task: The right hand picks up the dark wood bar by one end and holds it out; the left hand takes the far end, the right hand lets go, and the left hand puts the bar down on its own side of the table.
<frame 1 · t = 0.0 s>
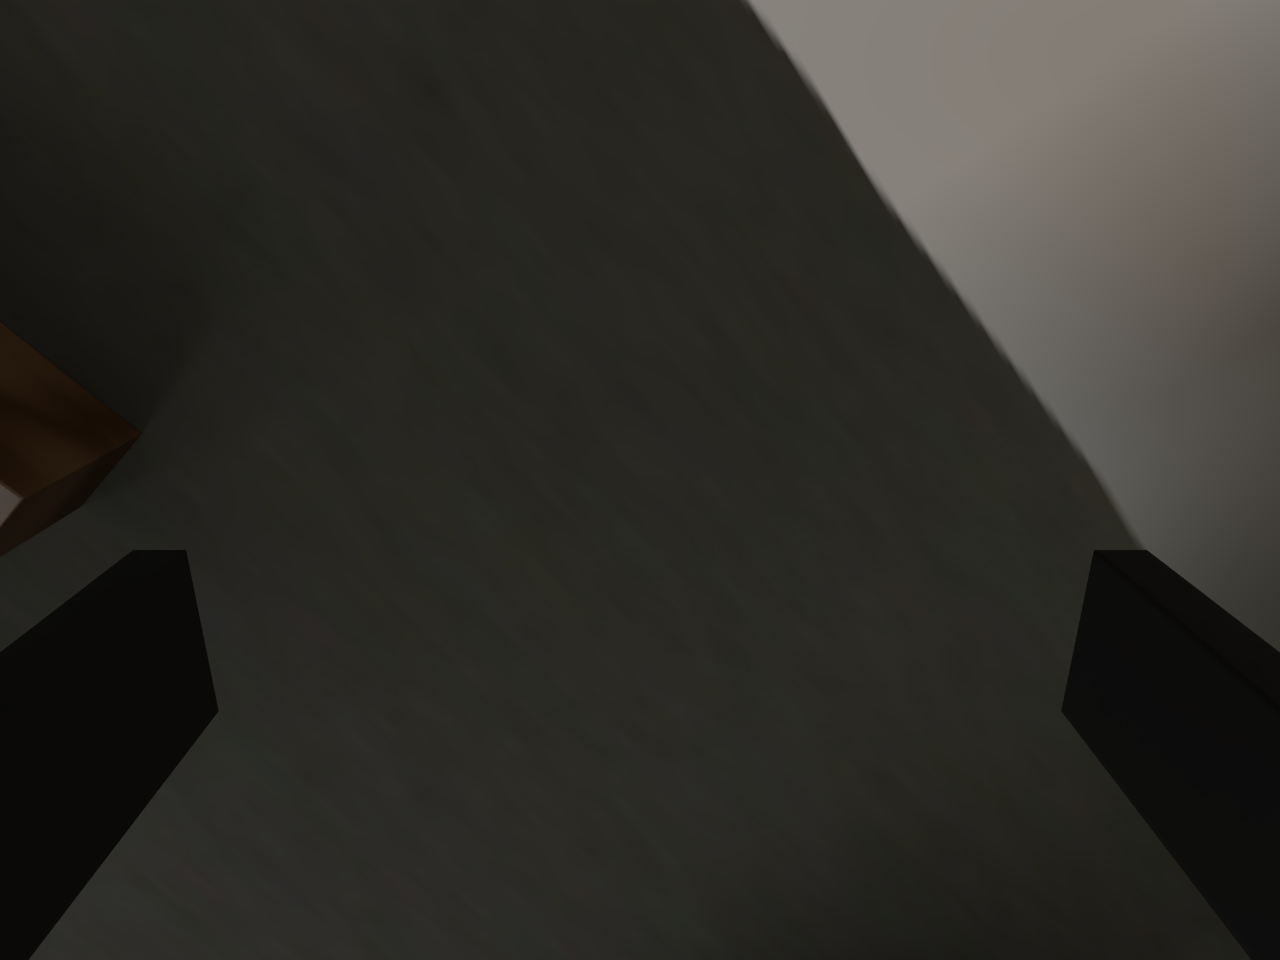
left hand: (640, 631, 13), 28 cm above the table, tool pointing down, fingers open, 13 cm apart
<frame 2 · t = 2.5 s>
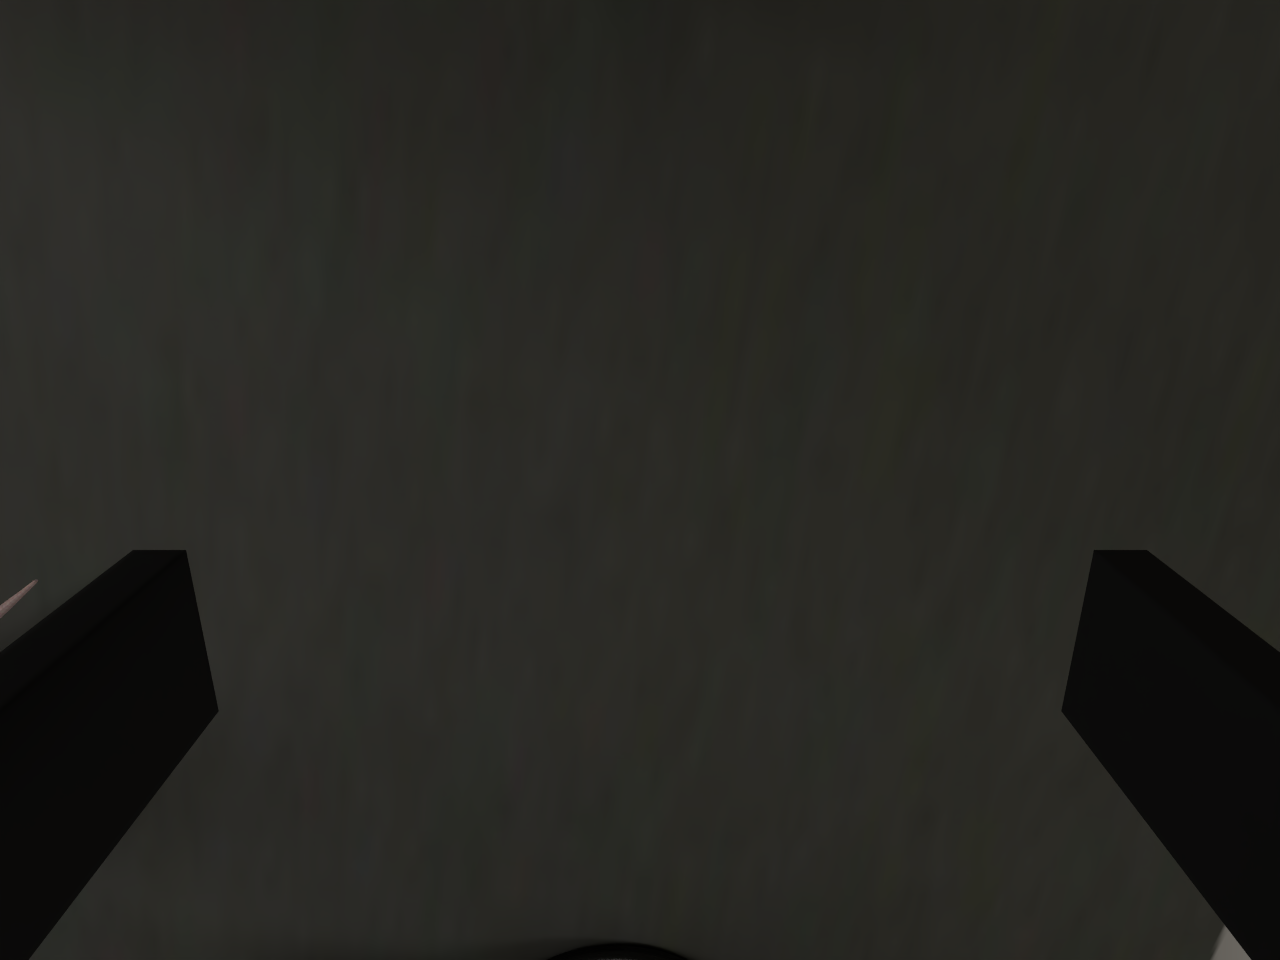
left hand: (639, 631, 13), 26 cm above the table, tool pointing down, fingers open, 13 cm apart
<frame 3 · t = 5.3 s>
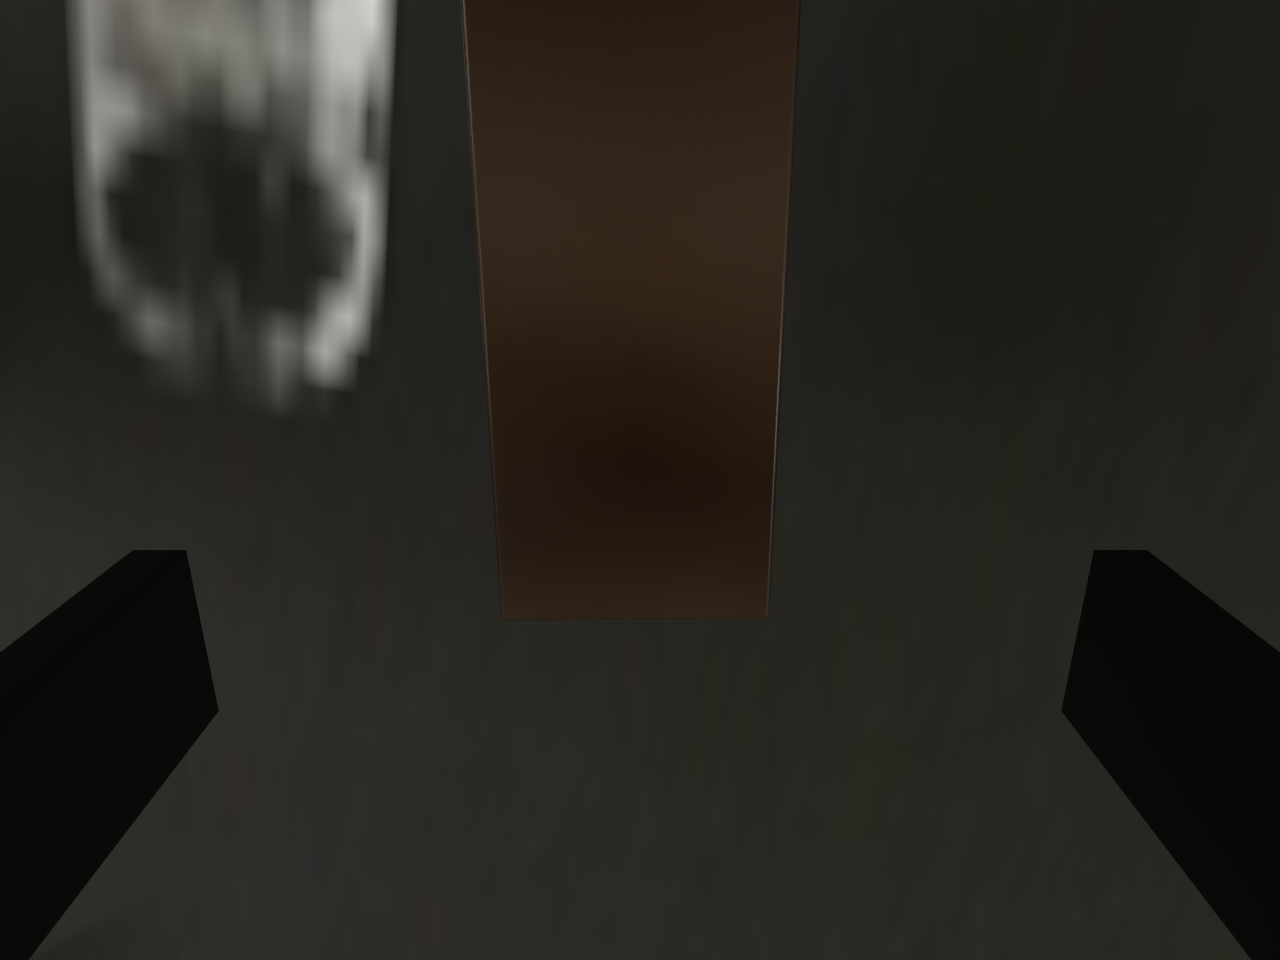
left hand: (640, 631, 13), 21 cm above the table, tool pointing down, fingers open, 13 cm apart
bar: (632, 28, 21), point 9 cm above the table, touching right hand
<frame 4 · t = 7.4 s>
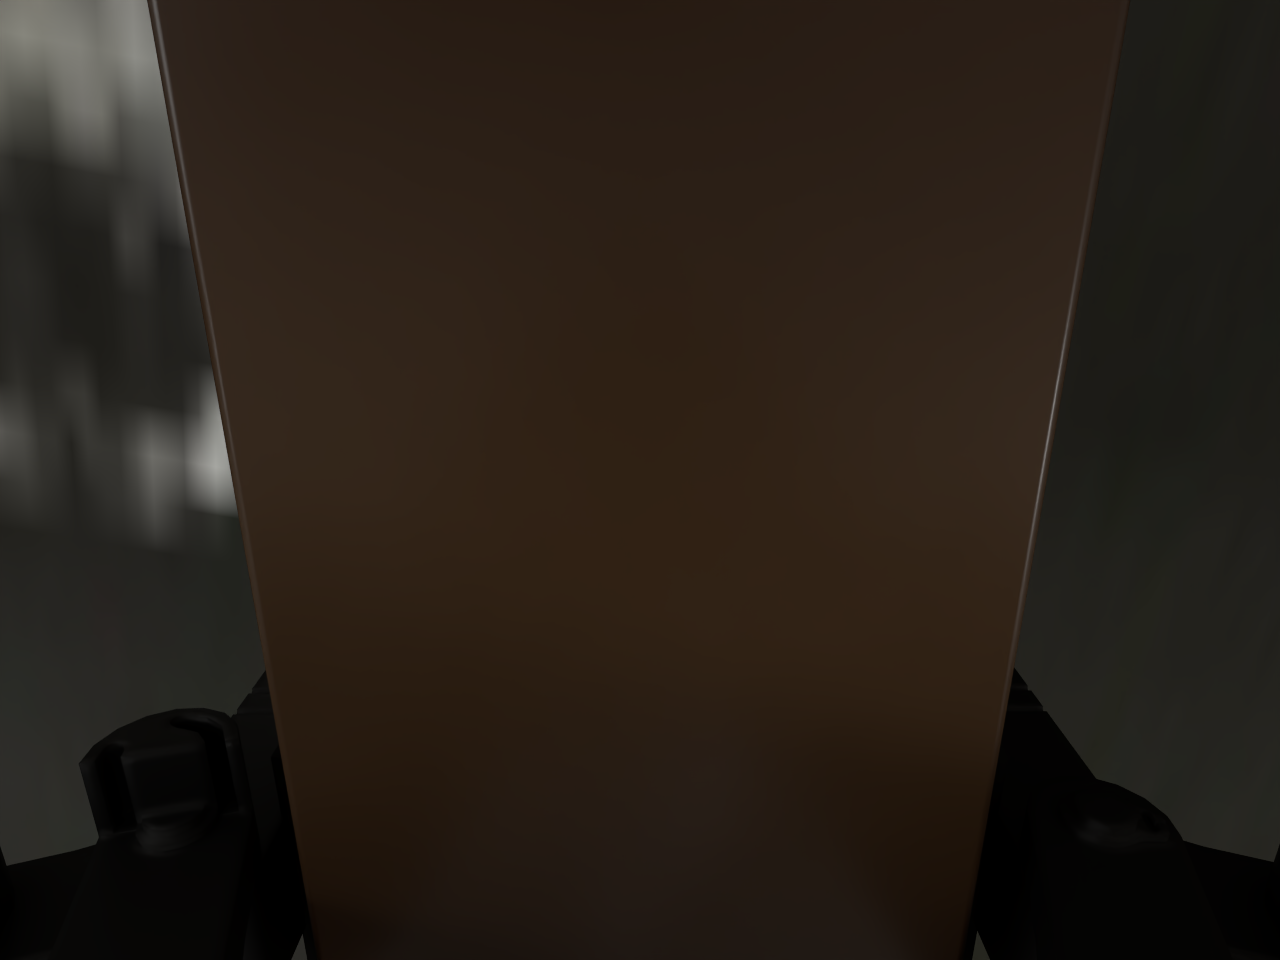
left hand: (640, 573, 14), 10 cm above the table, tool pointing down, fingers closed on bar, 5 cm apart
bar: (638, 34, 12), point 9 cm above the table, touching left hand, right hand
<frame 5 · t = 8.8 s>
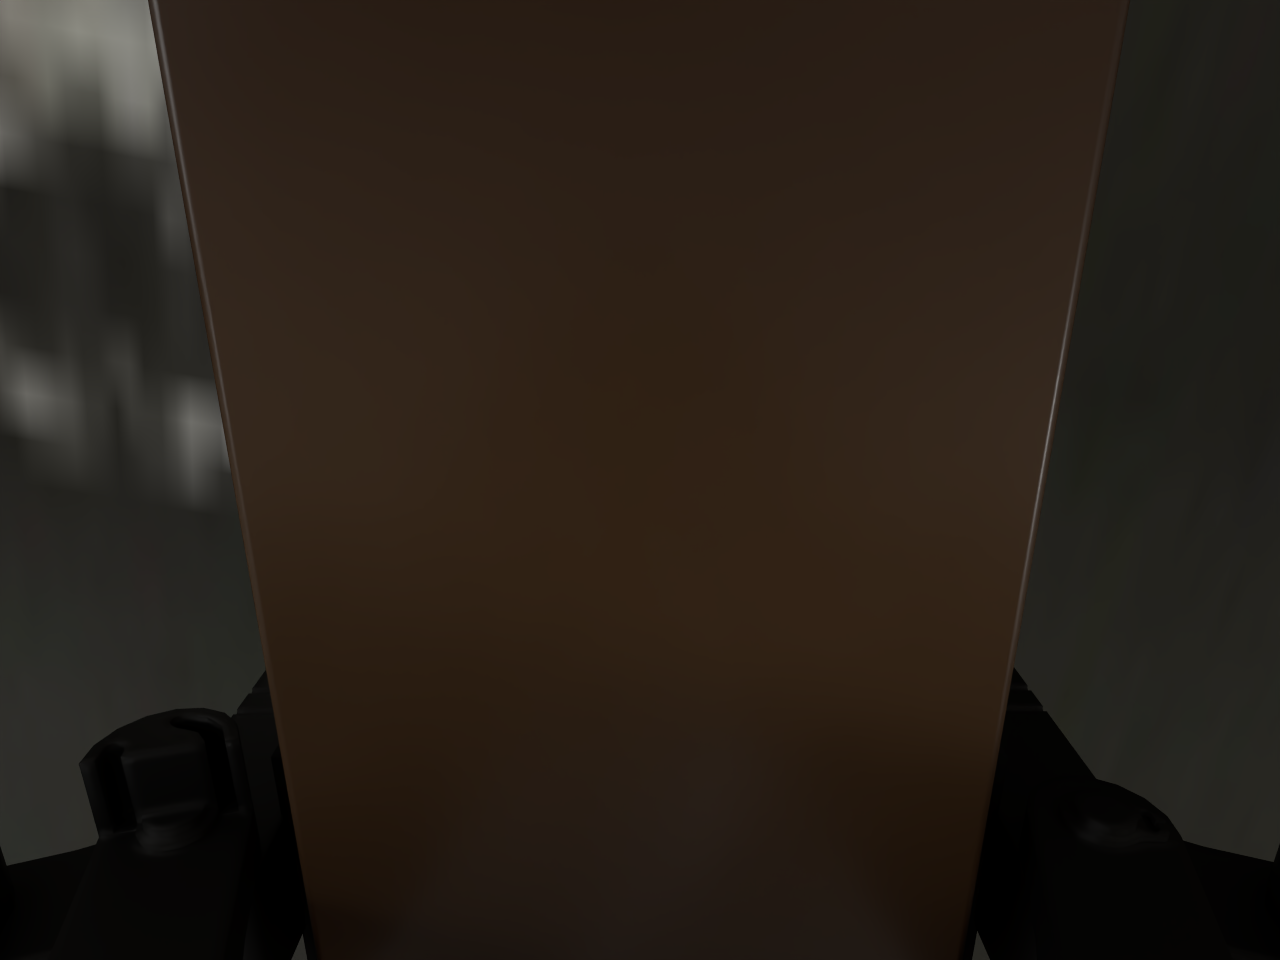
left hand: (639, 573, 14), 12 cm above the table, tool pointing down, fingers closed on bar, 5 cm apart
bar: (638, 34, 12), point 11 cm above the table, touching left hand
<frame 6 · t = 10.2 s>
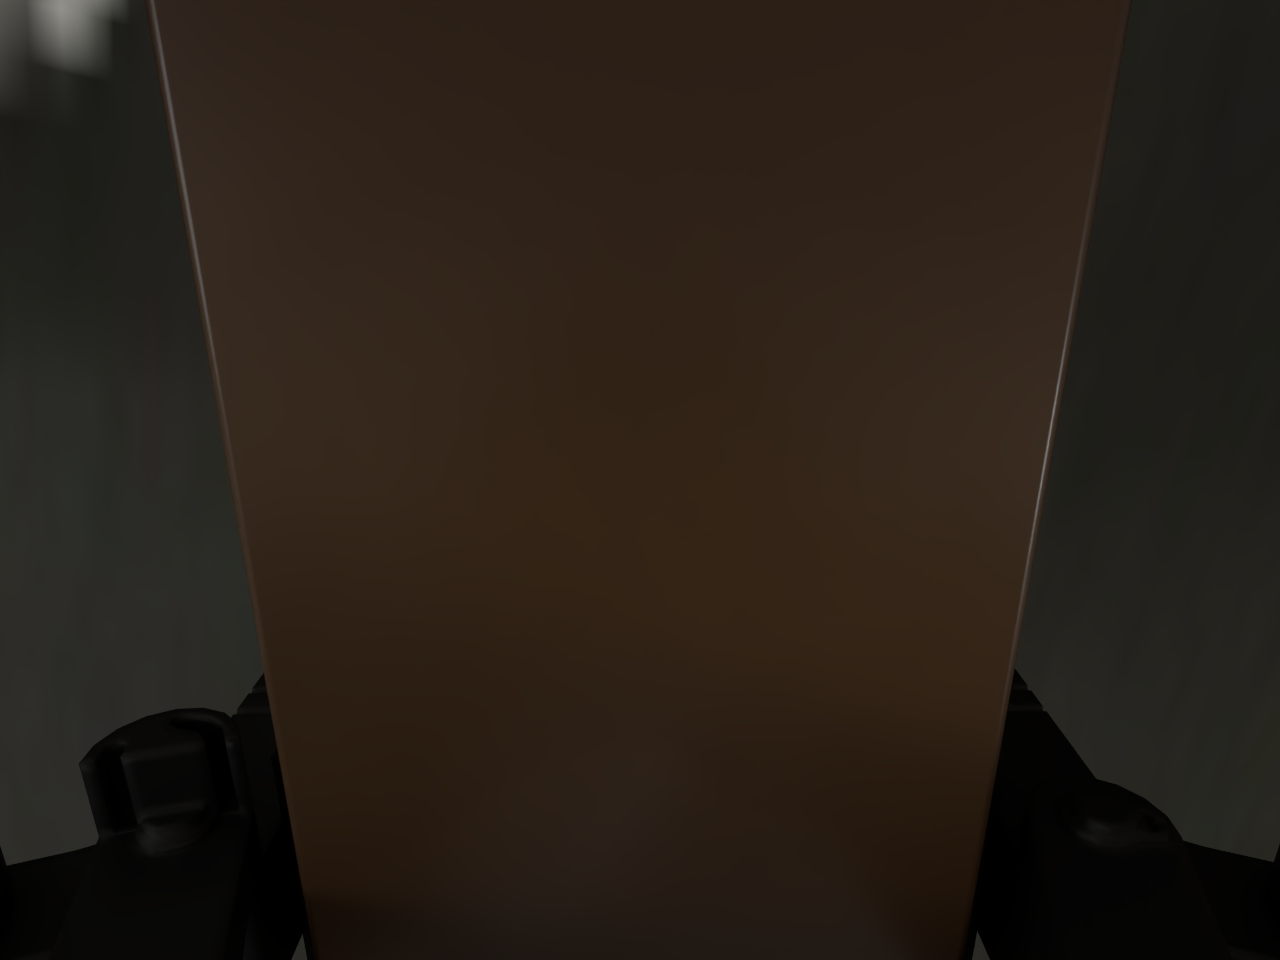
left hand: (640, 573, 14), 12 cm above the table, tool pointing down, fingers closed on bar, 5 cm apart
bar: (638, 32, 12), point 11 cm above the table, touching left hand
when the left hand's fingers open (1 cm above the table, at t = 13.3 s): bar stays where it is, on the table.
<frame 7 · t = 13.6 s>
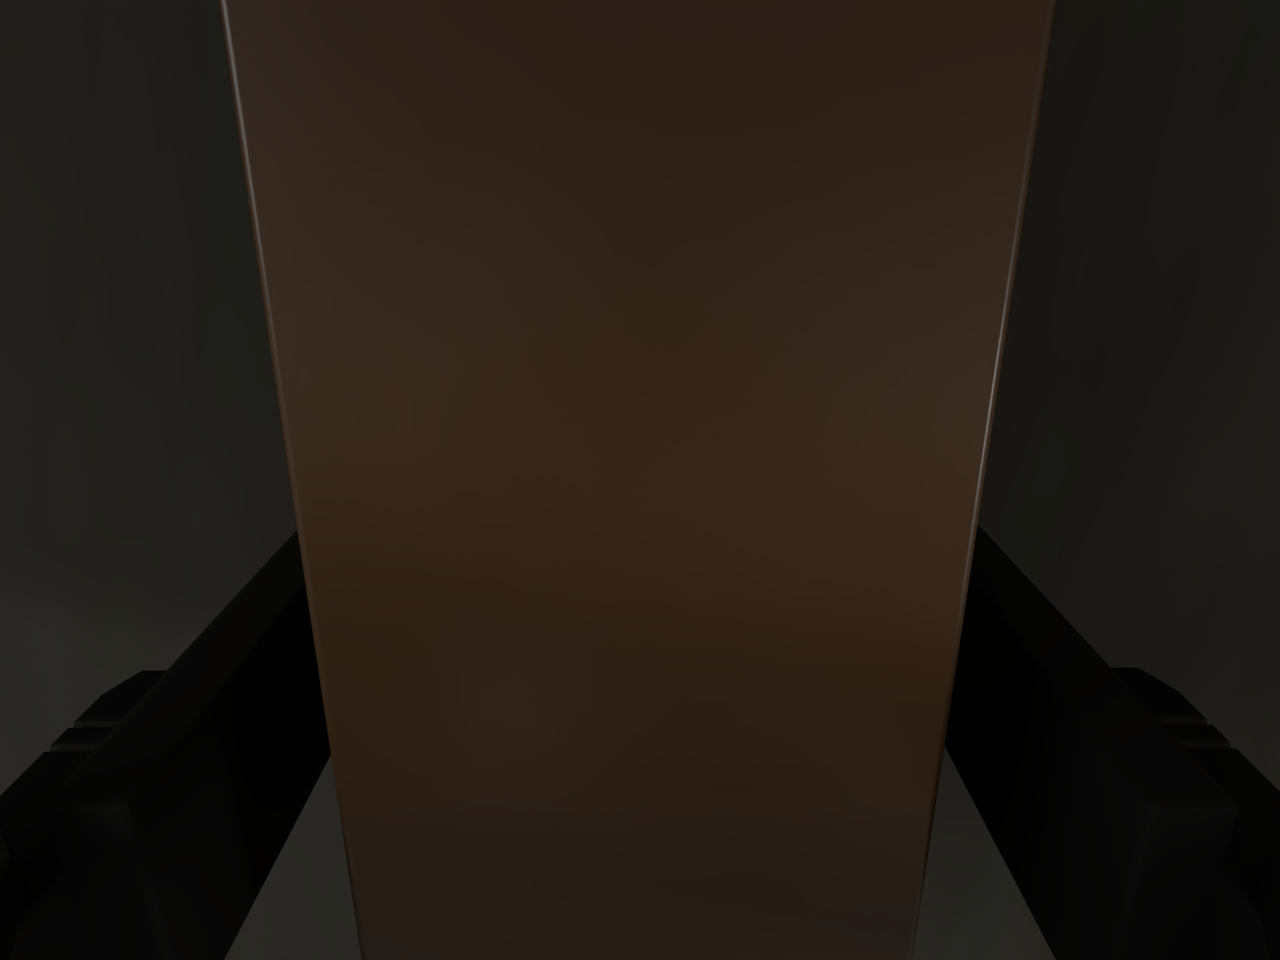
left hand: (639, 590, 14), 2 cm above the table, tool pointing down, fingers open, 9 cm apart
bar: (638, 50, 13), on the table
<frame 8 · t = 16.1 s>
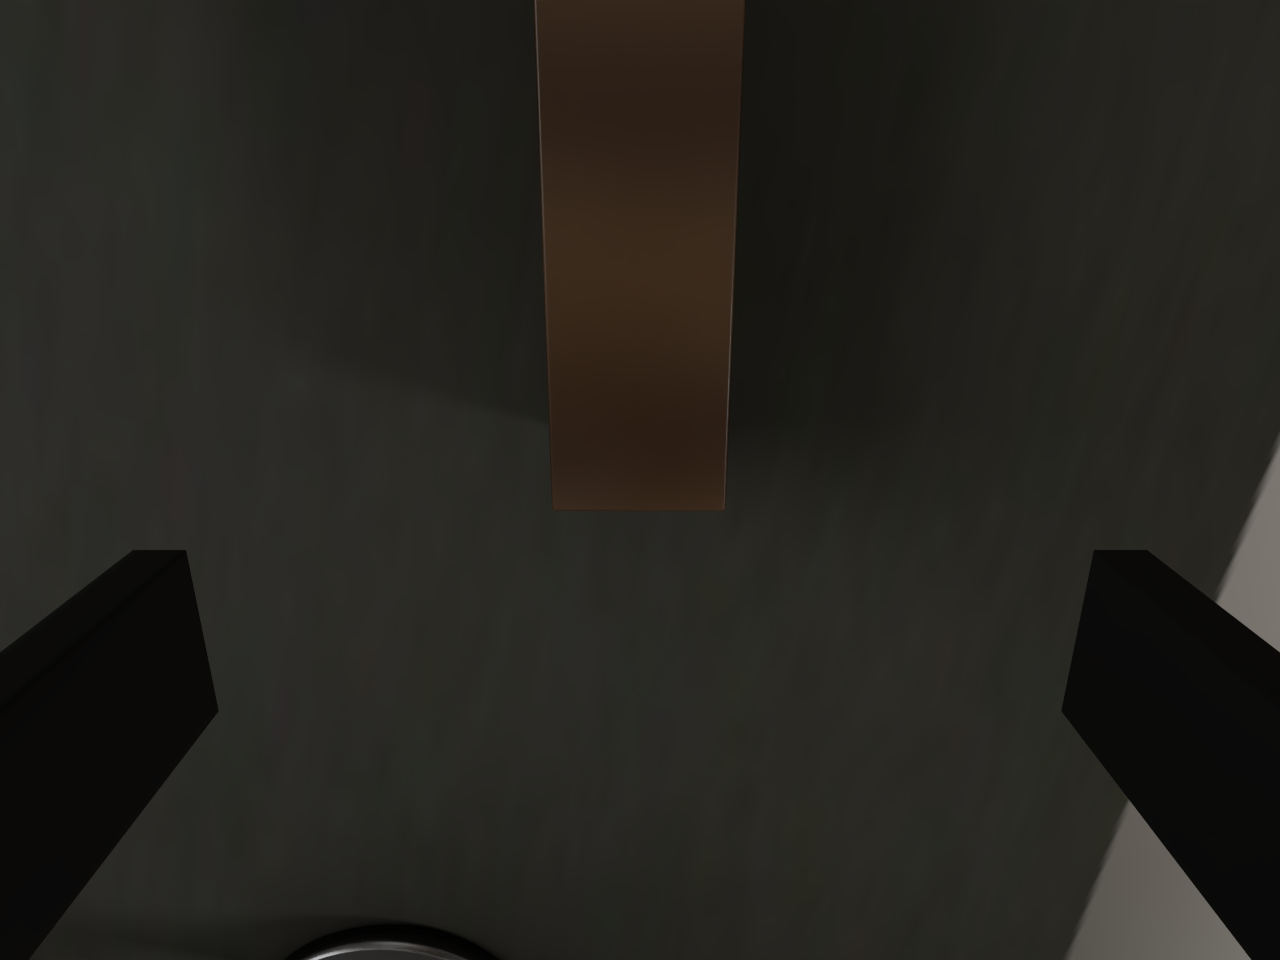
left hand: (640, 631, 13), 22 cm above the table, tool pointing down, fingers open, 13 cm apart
bar: (639, 112, 30), on the table
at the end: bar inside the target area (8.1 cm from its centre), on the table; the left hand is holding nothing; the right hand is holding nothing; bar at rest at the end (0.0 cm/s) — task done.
